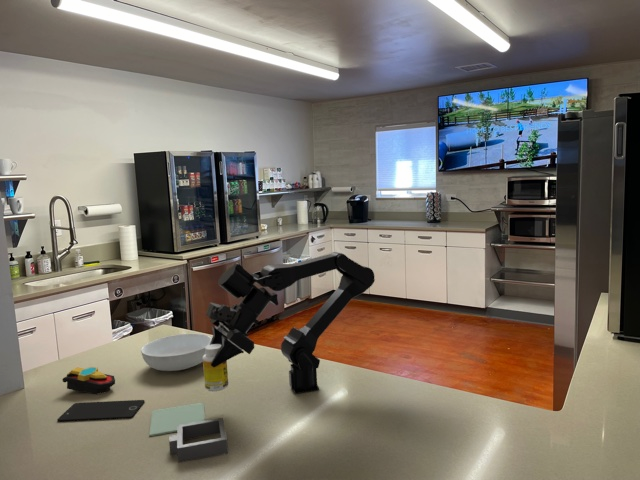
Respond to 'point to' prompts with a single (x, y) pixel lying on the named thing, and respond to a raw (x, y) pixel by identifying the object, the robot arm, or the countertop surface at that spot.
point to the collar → (199, 448)
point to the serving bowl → (176, 351)
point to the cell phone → (101, 411)
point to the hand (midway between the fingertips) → (209, 362)
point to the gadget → (89, 380)
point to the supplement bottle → (214, 370)
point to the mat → (175, 418)
